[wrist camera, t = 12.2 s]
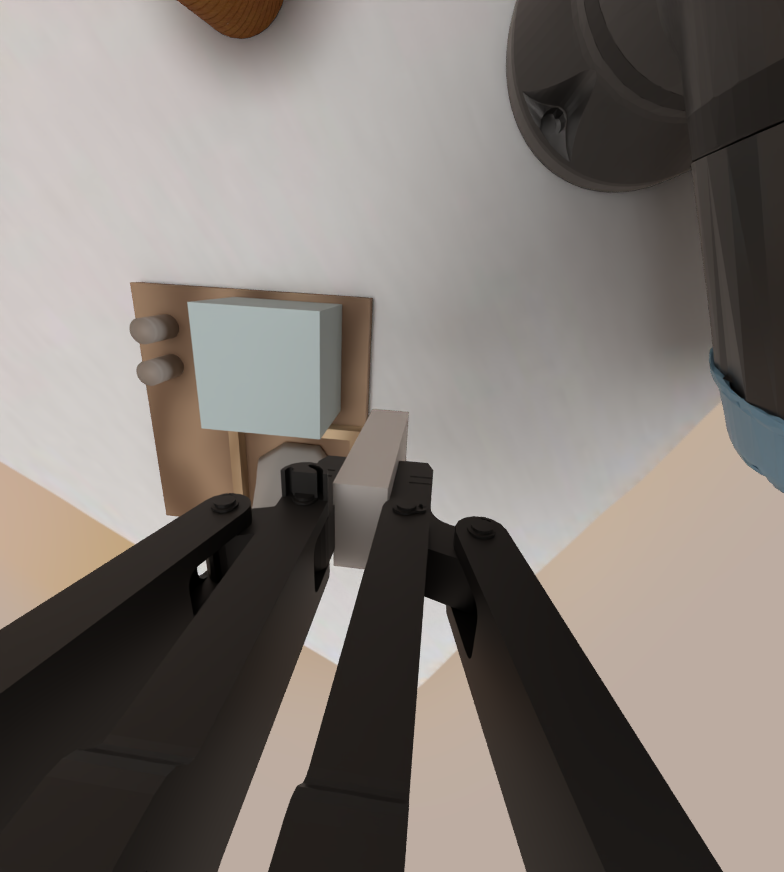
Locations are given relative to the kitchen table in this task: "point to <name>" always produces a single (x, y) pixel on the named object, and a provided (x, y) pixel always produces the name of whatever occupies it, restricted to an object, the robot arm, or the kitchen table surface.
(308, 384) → the pale blue block
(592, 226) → the kitchen table surface
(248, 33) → the disposable coffee cup
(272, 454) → the flask
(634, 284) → the kitchen table surface
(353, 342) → the board
